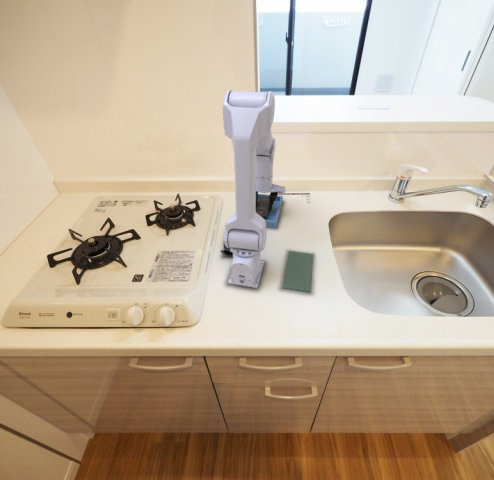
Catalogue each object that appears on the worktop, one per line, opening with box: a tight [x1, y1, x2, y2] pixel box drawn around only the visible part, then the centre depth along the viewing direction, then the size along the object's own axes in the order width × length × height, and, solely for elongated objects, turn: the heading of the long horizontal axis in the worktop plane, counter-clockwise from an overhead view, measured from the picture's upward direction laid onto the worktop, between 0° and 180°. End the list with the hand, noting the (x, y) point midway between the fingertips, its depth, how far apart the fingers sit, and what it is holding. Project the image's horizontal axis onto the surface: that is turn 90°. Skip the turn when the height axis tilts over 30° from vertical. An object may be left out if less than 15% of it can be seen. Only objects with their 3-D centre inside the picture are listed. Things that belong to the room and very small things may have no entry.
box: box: [258, 193, 284, 229], centre depth 93 cm, size 17×12×2 cm
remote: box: [256, 195, 270, 220], centre depth 92 cm, size 13×4×3 cm, turn 168°
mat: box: [282, 250, 314, 293], centre depth 72 cm, size 14×7×1 cm, turn 168°
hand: (263, 209), depth 93 cm, fingers closed on remote, 4 cm apart
